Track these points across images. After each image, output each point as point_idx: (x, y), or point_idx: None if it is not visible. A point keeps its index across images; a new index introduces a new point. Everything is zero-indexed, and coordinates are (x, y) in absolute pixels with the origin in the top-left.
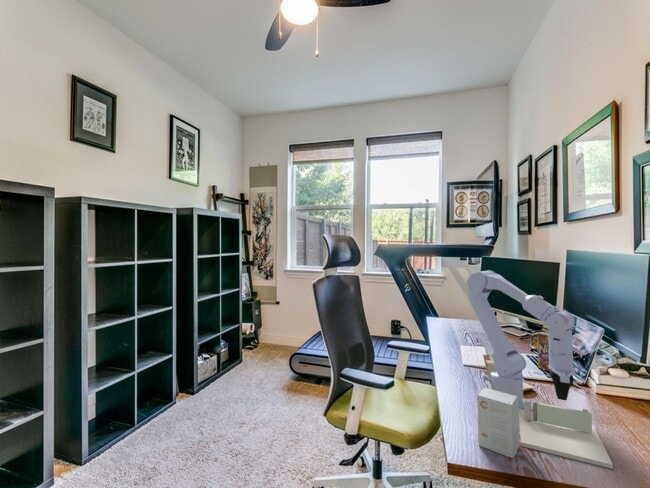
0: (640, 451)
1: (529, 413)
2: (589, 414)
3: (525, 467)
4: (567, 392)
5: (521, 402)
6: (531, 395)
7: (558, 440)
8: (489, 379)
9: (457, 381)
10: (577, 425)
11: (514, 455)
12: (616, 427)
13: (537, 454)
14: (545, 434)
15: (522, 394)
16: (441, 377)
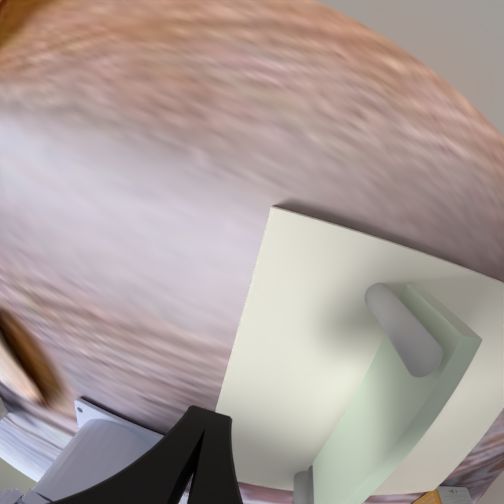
0: (465, 110)
1: None
2: (474, 350)
3: (491, 469)
4: (233, 476)
5: (141, 446)
6: (26, 341)
7: (445, 424)
8: (4, 414)
9: None
10: None
11: (460, 487)
12: (240, 69)
13: (466, 457)
14: None
15: (118, 463)
16: None
